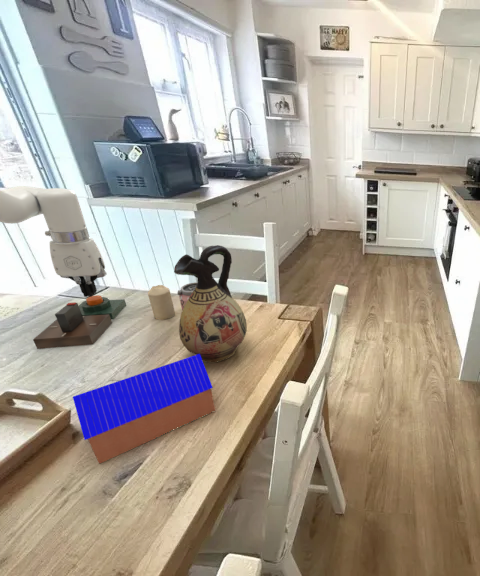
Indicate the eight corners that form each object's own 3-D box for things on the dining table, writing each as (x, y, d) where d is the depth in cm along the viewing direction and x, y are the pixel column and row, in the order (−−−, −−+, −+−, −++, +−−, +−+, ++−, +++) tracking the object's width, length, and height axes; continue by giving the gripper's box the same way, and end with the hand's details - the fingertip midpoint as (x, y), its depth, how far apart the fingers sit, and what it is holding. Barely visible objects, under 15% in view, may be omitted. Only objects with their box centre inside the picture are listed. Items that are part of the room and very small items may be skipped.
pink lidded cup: (181, 318, 100) (172, 283, 95) (210, 311, 105) (204, 277, 100) (188, 332, 94) (180, 295, 89) (219, 323, 99) (213, 288, 94)
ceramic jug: (199, 380, 77) (172, 264, 64) (177, 350, 86) (150, 243, 73) (265, 351, 88) (254, 248, 76) (240, 328, 98) (226, 232, 85)
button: (85, 306, 96) (83, 301, 95) (91, 300, 99) (89, 295, 99) (99, 305, 97) (97, 300, 96) (105, 300, 100) (103, 295, 99)
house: (217, 411, 69) (208, 368, 64) (97, 466, 57) (74, 418, 52) (200, 380, 77) (191, 340, 72) (91, 422, 65) (71, 377, 60)
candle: (166, 321, 98) (158, 291, 94) (150, 318, 99) (141, 289, 95) (179, 312, 103) (172, 284, 99) (163, 310, 104) (156, 281, 100)
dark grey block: (71, 331, 86) (63, 312, 83) (62, 332, 85) (54, 313, 83) (84, 319, 91) (77, 301, 88) (75, 320, 90) (68, 302, 88)
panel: (37, 349, 83) (32, 339, 82) (62, 326, 93) (58, 316, 91) (92, 344, 86) (89, 334, 85) (112, 322, 96) (109, 313, 94)
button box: (69, 322, 94) (64, 310, 93) (85, 307, 102) (81, 296, 100) (113, 319, 97) (109, 308, 96) (126, 305, 105) (123, 294, 103)
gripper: (27, 239, 84) (51, 301, 91) (96, 239, 88) (114, 299, 96) (45, 231, 90) (67, 290, 98) (109, 232, 94) (125, 288, 102)
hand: (90, 294), depth 97 cm, fingers closed
